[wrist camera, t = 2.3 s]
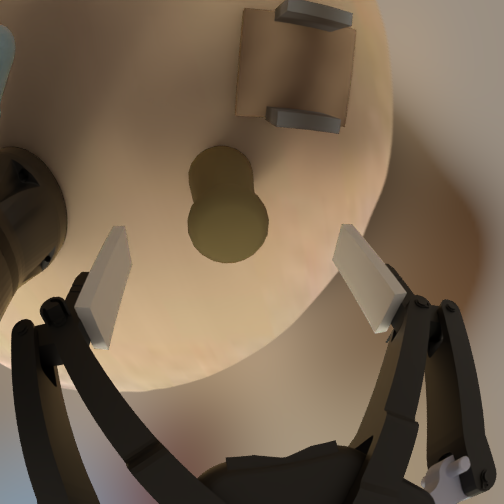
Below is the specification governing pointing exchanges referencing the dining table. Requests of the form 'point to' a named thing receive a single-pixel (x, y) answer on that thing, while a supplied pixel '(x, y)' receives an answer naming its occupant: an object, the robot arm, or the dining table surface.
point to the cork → (225, 206)
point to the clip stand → (296, 65)
